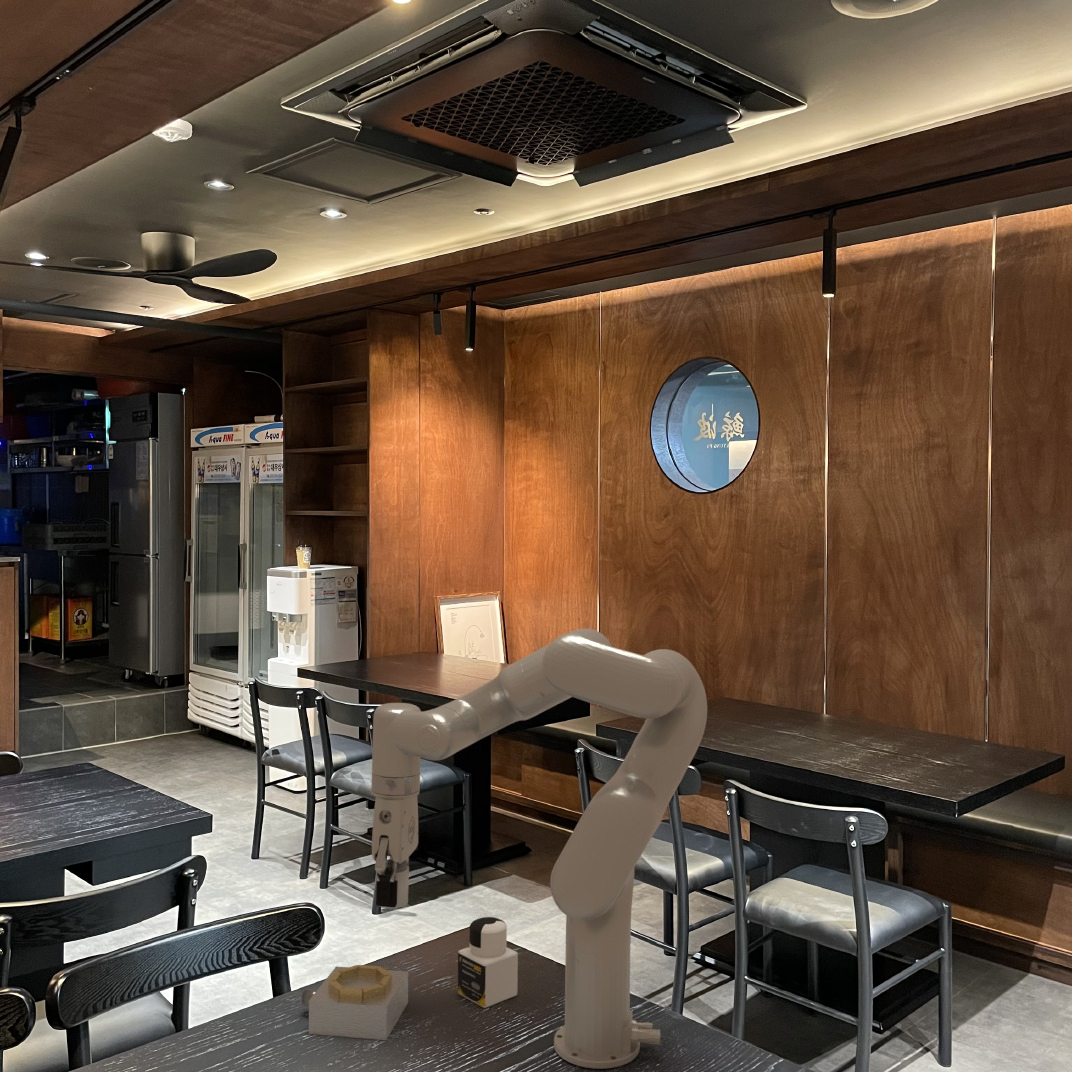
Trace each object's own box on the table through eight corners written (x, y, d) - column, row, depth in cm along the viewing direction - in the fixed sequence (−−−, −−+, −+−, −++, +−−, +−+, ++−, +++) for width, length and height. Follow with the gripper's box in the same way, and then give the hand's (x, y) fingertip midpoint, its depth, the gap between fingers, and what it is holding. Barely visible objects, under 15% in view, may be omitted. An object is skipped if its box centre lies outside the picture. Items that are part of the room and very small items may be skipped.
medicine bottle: (456, 993, 164) (457, 920, 164) (490, 980, 169) (491, 909, 169) (484, 1009, 159) (485, 933, 159) (518, 995, 164) (519, 922, 164)
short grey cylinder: (411, 898, 159) (413, 860, 159) (402, 909, 154) (403, 871, 154) (381, 895, 160) (382, 857, 160) (371, 906, 155) (372, 868, 155)
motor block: (407, 1002, 161) (408, 964, 161) (386, 1040, 149) (386, 998, 149) (317, 995, 163) (318, 957, 163) (289, 1032, 151) (290, 991, 151)
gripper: (402, 799, 148) (398, 922, 148) (433, 772, 165) (429, 882, 165) (354, 795, 149) (350, 917, 149) (389, 769, 166) (385, 878, 166)
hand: (392, 898), depth 157 cm, fingers closed on short grey cylinder, 5 cm apart
